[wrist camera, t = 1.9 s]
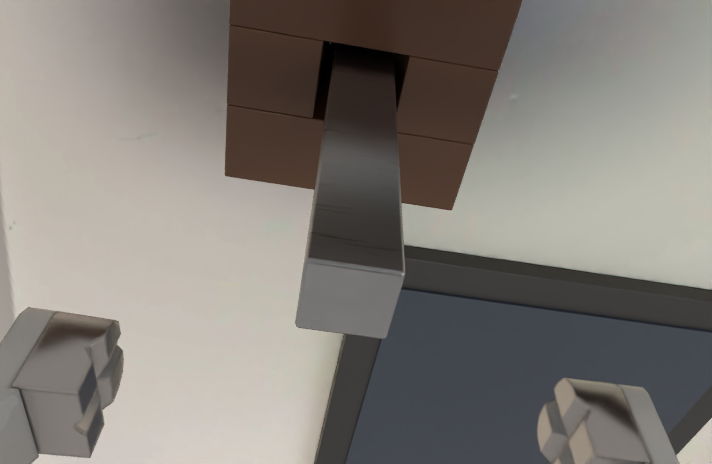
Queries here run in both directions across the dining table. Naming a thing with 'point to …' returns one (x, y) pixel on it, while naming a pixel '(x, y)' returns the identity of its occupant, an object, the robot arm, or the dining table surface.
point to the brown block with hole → (412, 84)
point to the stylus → (356, 203)
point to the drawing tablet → (510, 360)
